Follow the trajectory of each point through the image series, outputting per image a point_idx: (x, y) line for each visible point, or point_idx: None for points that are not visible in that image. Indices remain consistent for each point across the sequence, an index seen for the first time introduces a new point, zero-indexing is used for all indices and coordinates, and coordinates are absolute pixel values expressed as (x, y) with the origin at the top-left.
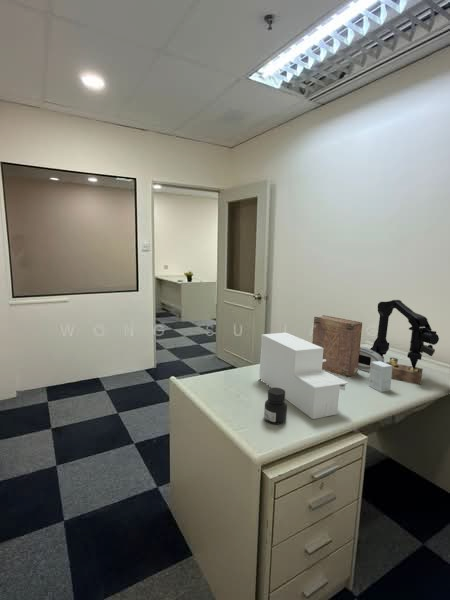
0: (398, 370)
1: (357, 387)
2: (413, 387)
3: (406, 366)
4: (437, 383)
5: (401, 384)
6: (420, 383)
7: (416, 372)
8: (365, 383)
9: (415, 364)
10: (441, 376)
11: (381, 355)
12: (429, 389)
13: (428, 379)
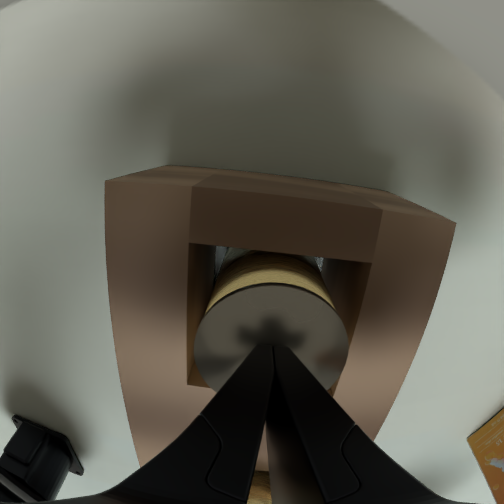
0: None
1: None
2: (475, 261)
3: (166, 404)
4: (224, 12)
5: (438, 346)
6: (392, 194)
7: (419, 297)
8: (454, 469)
9: (321, 398)
10: (3, 24)
11: (27, 482)
12: (467, 125)
13: (133, 95)
